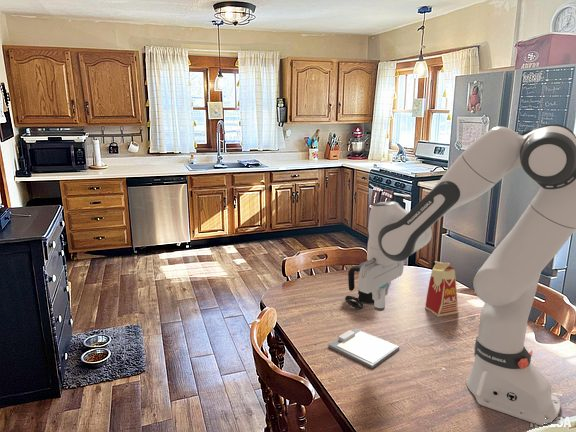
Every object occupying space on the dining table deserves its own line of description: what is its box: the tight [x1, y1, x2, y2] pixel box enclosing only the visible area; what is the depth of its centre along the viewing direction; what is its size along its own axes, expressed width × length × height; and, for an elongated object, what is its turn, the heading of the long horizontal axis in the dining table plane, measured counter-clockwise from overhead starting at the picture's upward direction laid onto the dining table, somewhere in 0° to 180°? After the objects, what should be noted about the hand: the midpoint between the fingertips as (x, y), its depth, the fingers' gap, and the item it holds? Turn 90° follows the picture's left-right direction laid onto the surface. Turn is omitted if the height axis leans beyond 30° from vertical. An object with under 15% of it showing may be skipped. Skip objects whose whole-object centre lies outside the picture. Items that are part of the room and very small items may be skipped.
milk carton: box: [424, 260, 459, 318], centre depth 163 cm, size 9×9×20 cm
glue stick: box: [373, 284, 386, 312], centre depth 132 cm, size 3×3×8 cm
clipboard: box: [328, 327, 400, 369], centre depth 139 cm, size 17×15×2 cm
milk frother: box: [344, 261, 374, 310], centre depth 170 cm, size 14×16×15 cm
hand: (380, 297), depth 132 cm, fingers closed on glue stick, 3 cm apart
